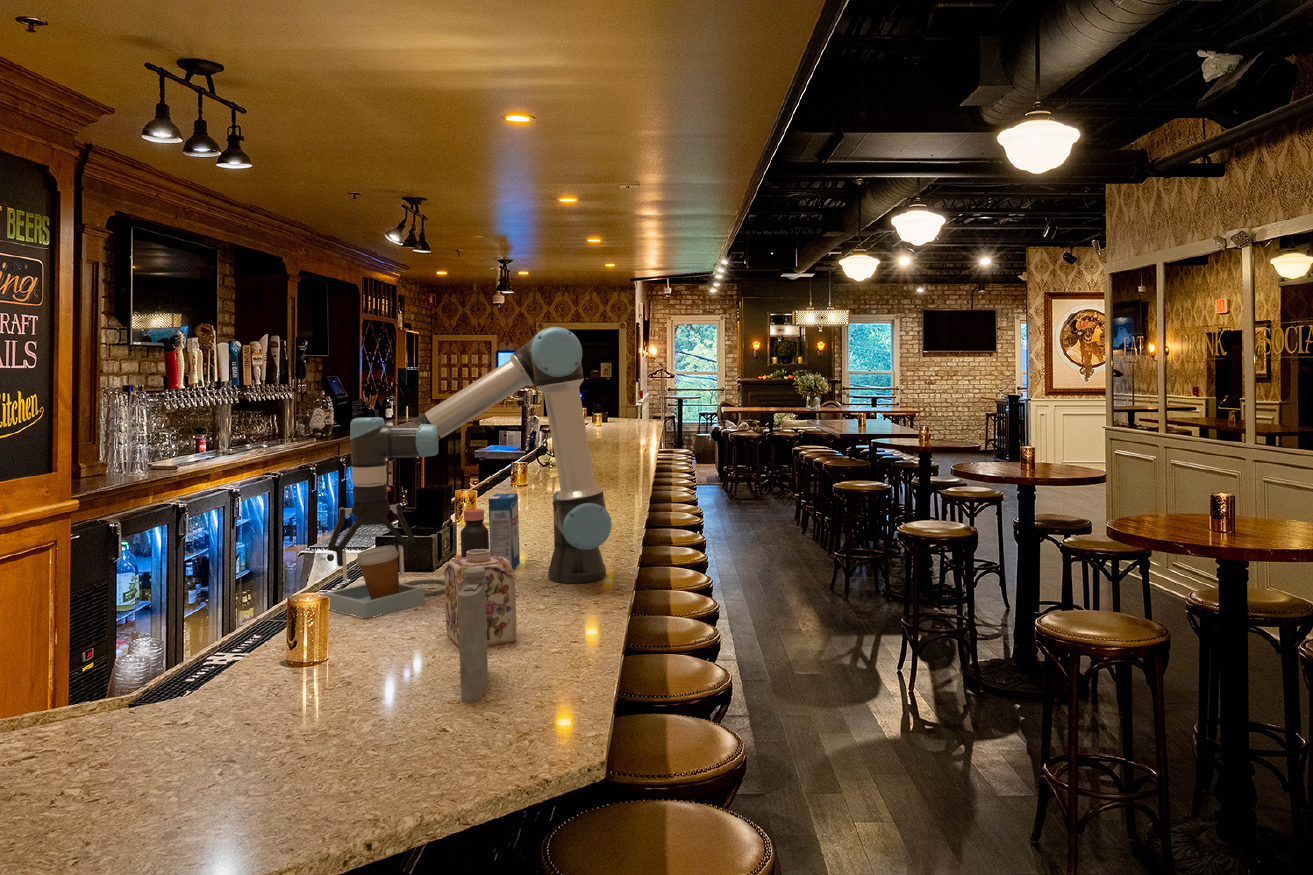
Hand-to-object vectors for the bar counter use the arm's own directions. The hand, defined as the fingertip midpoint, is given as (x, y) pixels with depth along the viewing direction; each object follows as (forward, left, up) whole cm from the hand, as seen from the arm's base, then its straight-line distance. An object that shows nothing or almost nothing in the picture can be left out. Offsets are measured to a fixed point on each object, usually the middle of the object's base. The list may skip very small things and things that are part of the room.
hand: (373, 576), depth 196 cm
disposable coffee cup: (-1, -2, -6) cm, 7 cm away
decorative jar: (-40, +3, -7) cm, 41 cm away
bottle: (-9, -23, -7) cm, 26 cm away
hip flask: (-59, +21, -7) cm, 63 cm away
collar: (+3, -16, -7) cm, 18 cm away
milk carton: (+4, -45, -7) cm, 46 cm away
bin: (0, 0, -7) cm, 7 cm away
